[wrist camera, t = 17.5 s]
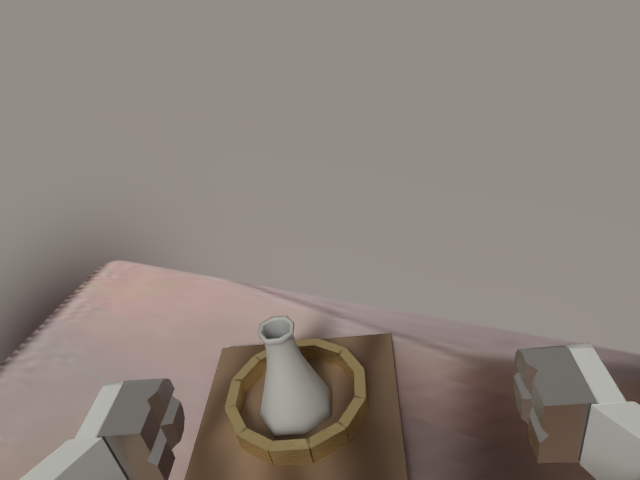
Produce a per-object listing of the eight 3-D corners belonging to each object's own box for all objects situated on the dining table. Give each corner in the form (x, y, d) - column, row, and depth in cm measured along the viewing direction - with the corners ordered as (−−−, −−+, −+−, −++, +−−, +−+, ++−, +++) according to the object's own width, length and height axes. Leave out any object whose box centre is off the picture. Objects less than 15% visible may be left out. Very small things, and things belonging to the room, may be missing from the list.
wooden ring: (364, 348, 53) (362, 334, 52) (370, 460, 42) (367, 445, 41) (244, 358, 54) (240, 344, 53) (218, 468, 43) (212, 454, 42)
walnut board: (391, 341, 55) (390, 333, 54) (408, 488, 40) (407, 479, 40) (225, 355, 57) (222, 348, 56) (185, 499, 42) (181, 491, 42)
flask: (253, 390, 50) (229, 315, 45) (321, 368, 51) (305, 292, 46) (267, 449, 44) (240, 369, 39) (343, 422, 45) (327, 341, 40)
